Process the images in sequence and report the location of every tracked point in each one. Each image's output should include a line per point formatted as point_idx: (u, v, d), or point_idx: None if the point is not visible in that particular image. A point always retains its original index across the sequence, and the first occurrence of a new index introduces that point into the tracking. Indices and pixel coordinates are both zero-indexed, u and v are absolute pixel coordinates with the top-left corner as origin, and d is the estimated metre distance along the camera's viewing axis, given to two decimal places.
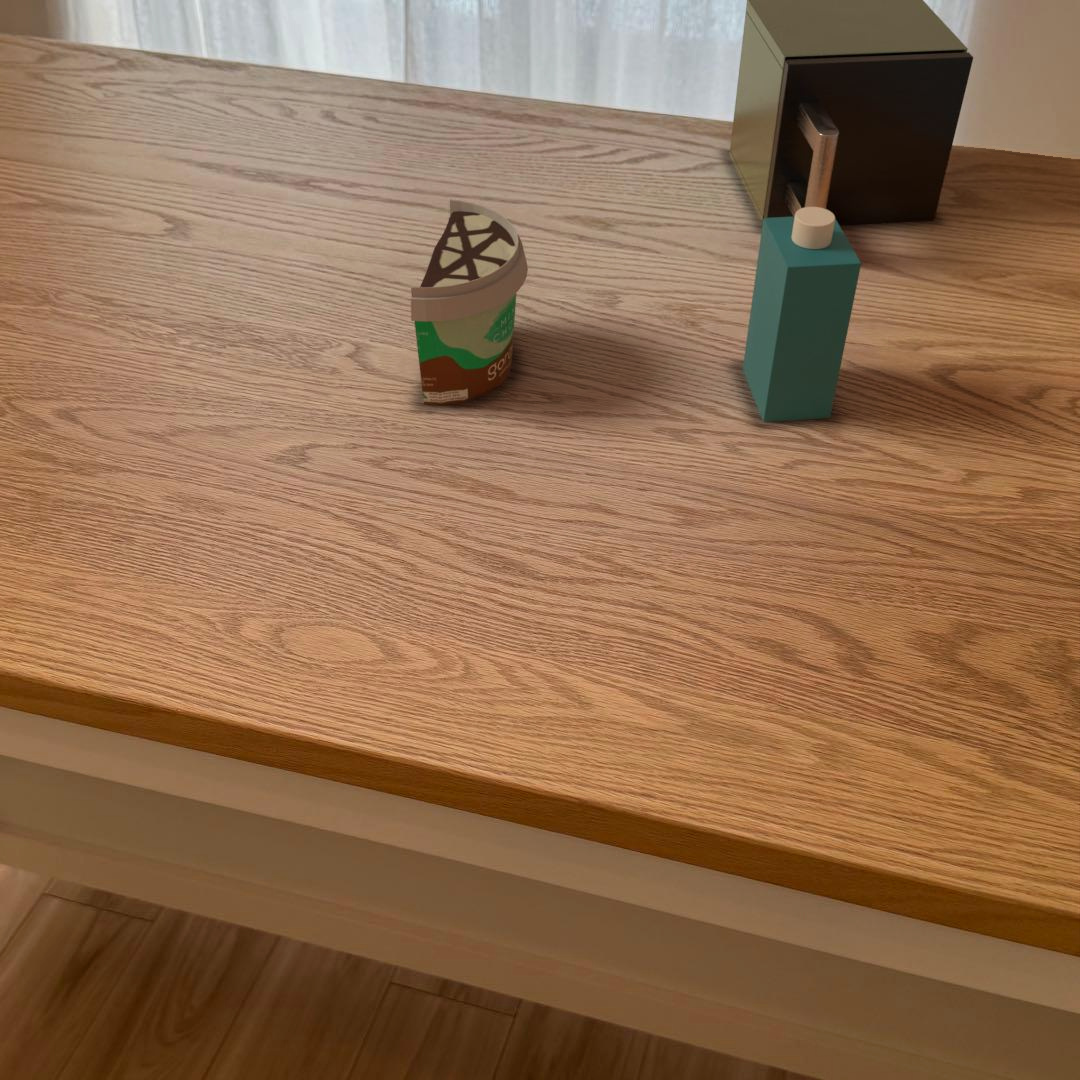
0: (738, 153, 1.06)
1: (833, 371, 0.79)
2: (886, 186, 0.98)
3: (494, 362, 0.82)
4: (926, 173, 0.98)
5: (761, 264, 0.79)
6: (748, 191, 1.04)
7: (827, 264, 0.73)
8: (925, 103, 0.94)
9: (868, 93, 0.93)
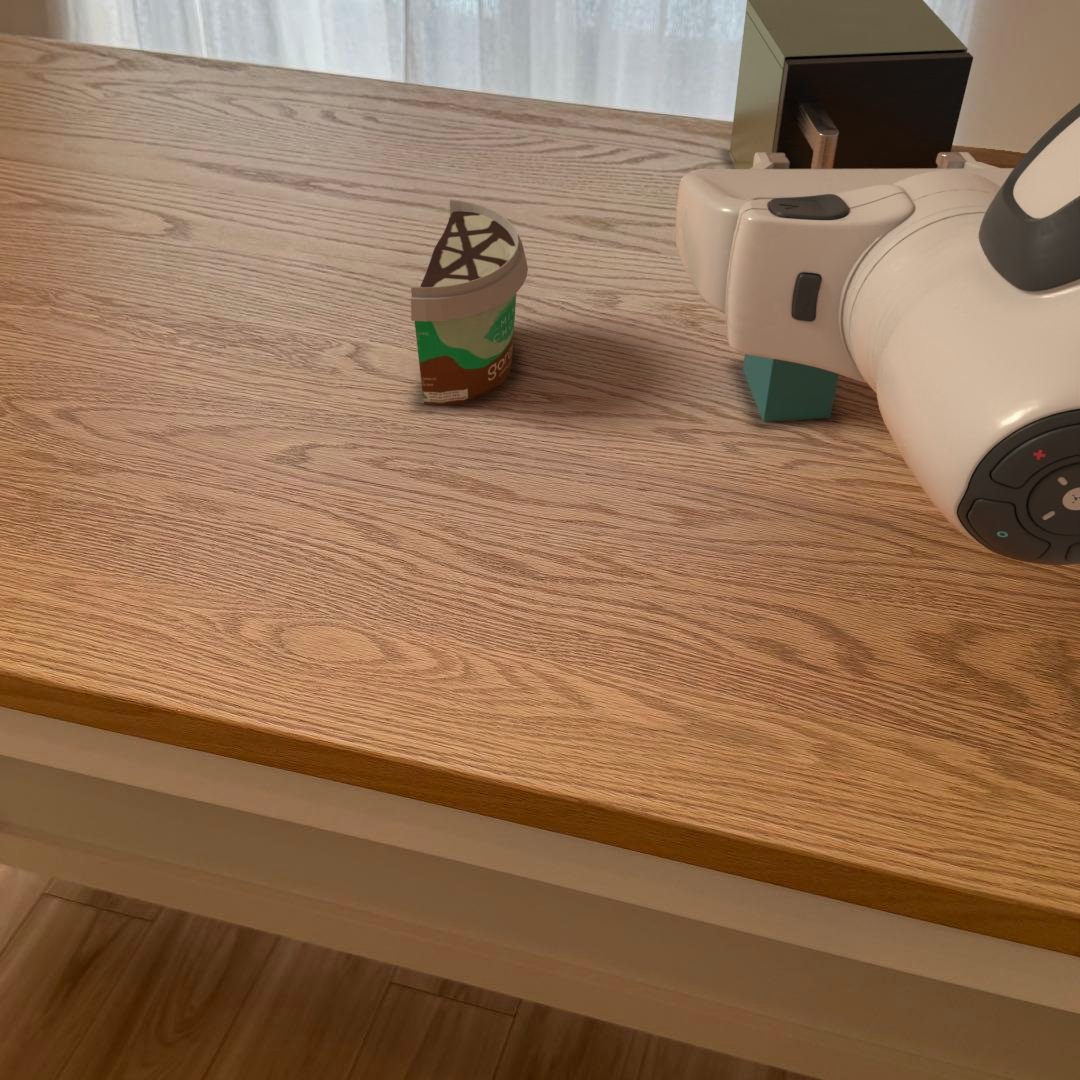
0: (738, 153, 1.06)
1: None
2: None
3: (494, 362, 0.82)
4: None
5: None
6: None
7: None
8: (925, 103, 0.94)
9: (868, 93, 0.93)
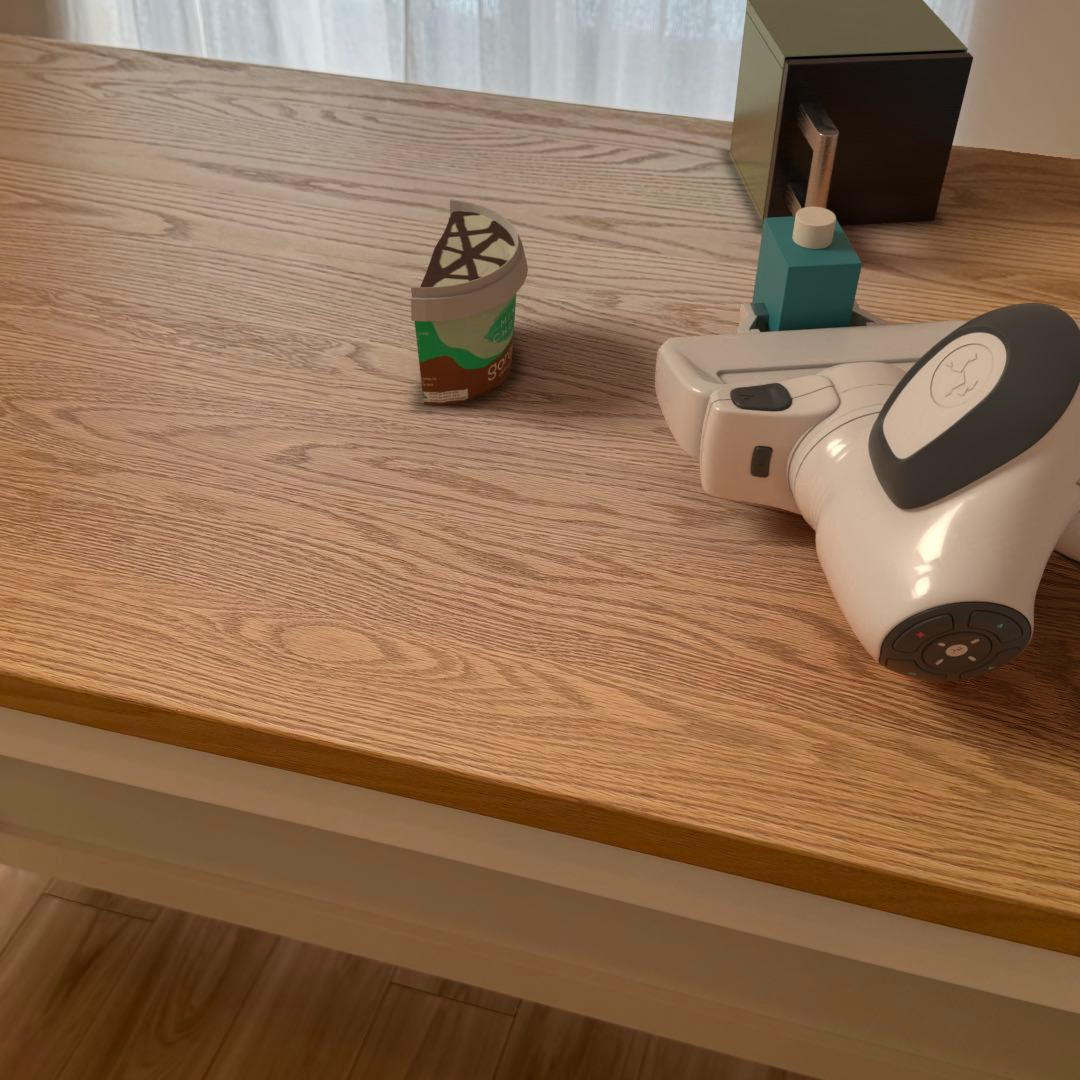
0: (738, 153, 1.06)
1: None
2: (886, 186, 0.98)
3: (494, 362, 0.82)
4: (926, 173, 0.98)
5: (762, 264, 0.79)
6: (748, 191, 1.04)
7: (828, 264, 0.73)
8: (925, 103, 0.94)
9: (868, 93, 0.93)
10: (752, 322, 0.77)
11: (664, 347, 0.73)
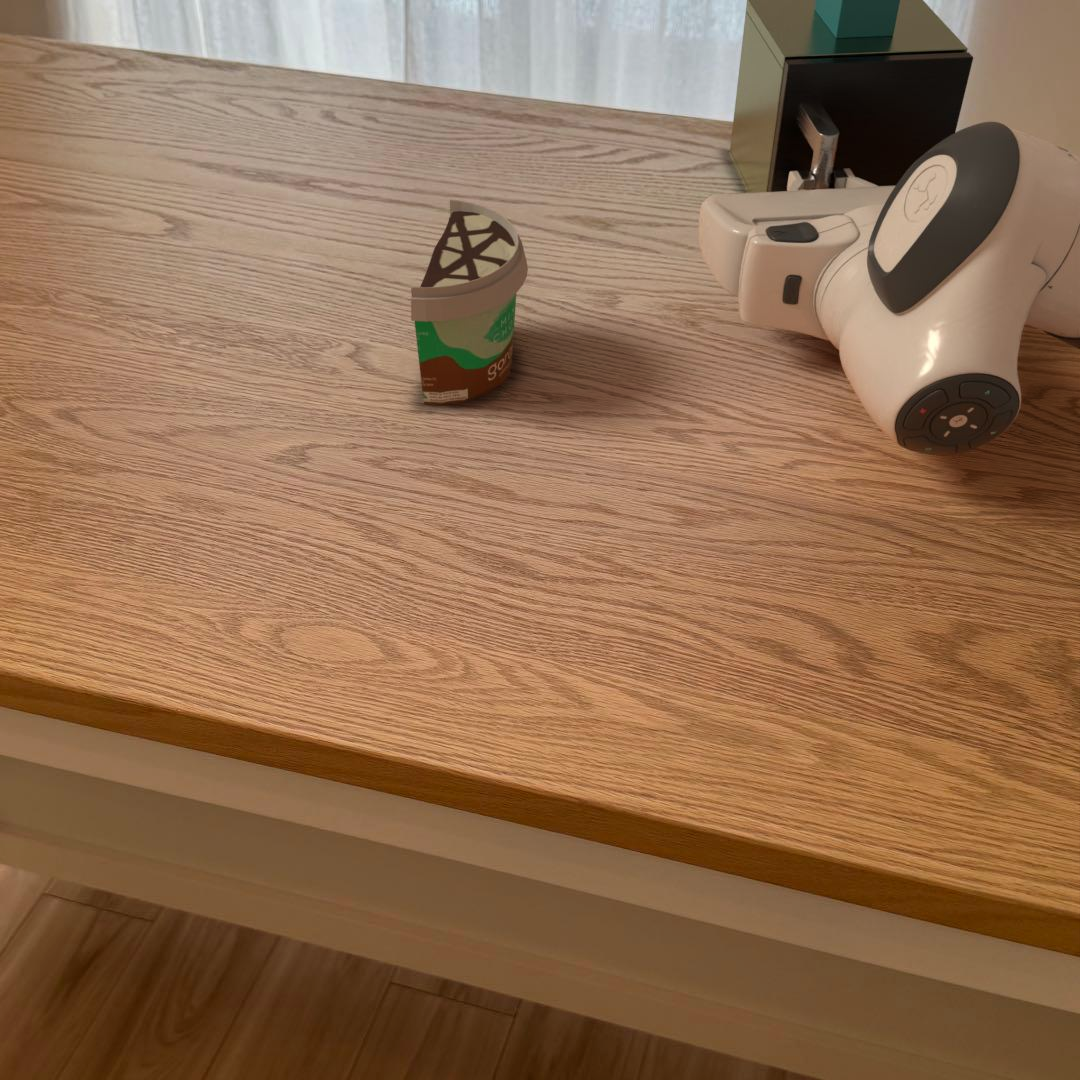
0: (738, 153, 1.06)
1: None
2: None
3: (494, 362, 0.82)
4: None
5: None
6: (748, 191, 1.04)
7: None
8: (925, 103, 0.94)
9: (868, 93, 0.93)
10: (800, 184, 0.89)
11: (707, 201, 0.86)
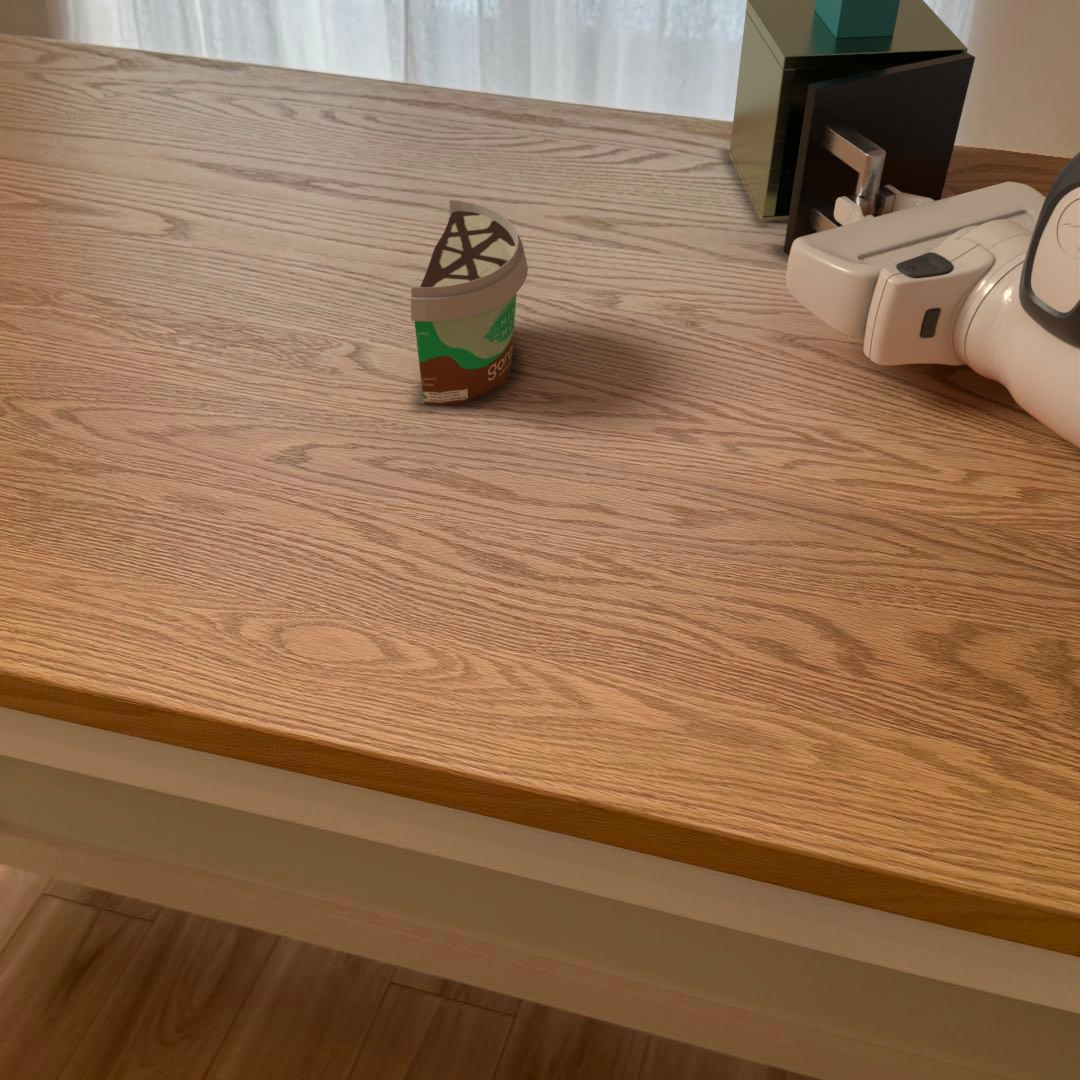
0: (738, 153, 1.06)
1: None
2: None
3: (494, 362, 0.82)
4: (931, 176, 0.97)
5: None
6: (748, 191, 1.04)
7: None
8: (933, 108, 0.93)
9: (885, 106, 0.91)
10: (860, 210, 0.87)
11: (800, 246, 0.81)
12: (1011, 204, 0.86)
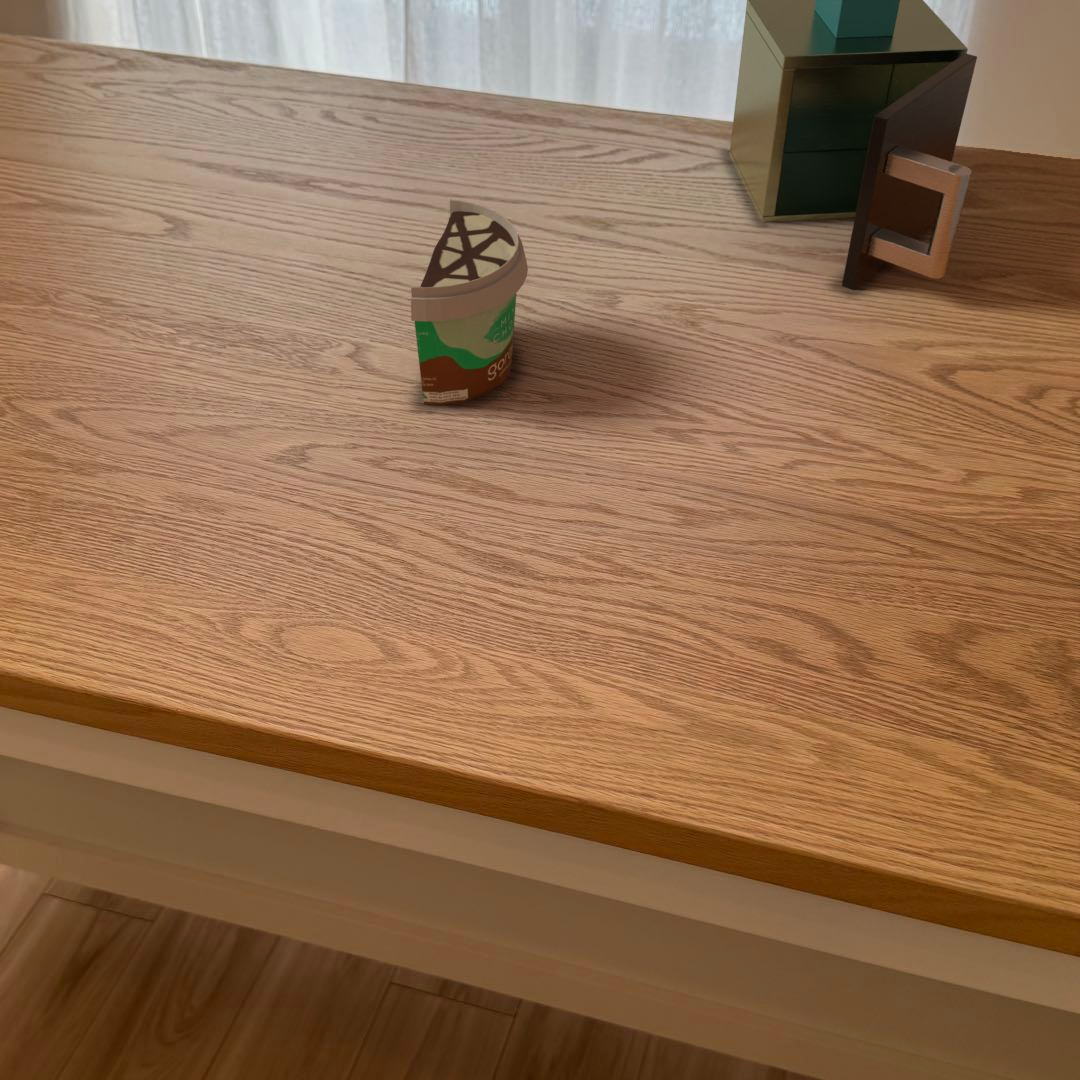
0: (738, 153, 1.06)
1: None
2: (919, 204, 0.96)
3: (494, 362, 0.82)
4: None
5: None
6: (748, 191, 1.04)
7: None
8: (949, 113, 0.92)
9: (923, 122, 0.89)
10: None
11: None
12: None
